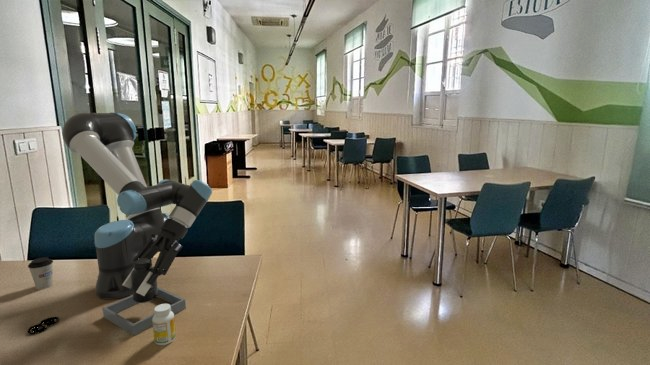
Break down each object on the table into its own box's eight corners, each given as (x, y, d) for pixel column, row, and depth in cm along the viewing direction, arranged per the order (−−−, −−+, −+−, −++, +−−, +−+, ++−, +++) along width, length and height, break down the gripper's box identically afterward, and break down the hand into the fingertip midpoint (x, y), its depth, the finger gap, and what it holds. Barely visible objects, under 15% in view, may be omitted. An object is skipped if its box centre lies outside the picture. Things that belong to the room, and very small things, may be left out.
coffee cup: (27, 288, 122) (22, 262, 121) (49, 280, 129) (44, 254, 127) (39, 292, 120) (34, 265, 118) (61, 283, 126) (57, 257, 124)
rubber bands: (63, 320, 104) (63, 317, 104) (37, 337, 96) (36, 333, 96) (50, 318, 105) (49, 315, 105) (22, 334, 97) (22, 331, 97)
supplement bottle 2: (160, 348, 91) (156, 315, 89) (151, 340, 94) (147, 308, 92) (179, 338, 95) (176, 306, 93) (170, 331, 98) (167, 300, 97)
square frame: (103, 317, 105) (102, 308, 105) (155, 293, 119) (154, 285, 118) (133, 335, 96) (132, 325, 96) (185, 308, 110) (185, 299, 109)
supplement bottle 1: (147, 305, 102) (144, 267, 100) (127, 302, 104) (123, 264, 101) (163, 293, 109) (159, 257, 106) (143, 290, 110) (140, 255, 108)
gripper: (205, 235, 110) (161, 304, 100) (168, 223, 120) (125, 285, 110) (189, 223, 105) (142, 296, 95) (152, 212, 115) (105, 276, 105)
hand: (133, 290), depth 102 cm, fingers closed on supplement bottle 1, 7 cm apart
